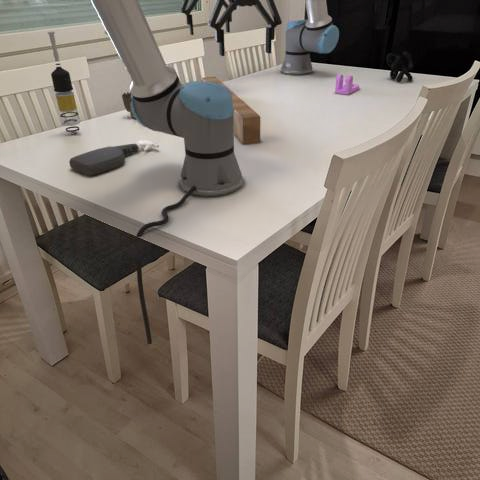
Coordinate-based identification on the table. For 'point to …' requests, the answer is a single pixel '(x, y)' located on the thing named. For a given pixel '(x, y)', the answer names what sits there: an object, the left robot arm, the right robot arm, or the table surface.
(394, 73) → the squiggle
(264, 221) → the table surface
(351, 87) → the bracket
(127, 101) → the cup
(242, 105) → the bar
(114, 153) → the spray bottle
